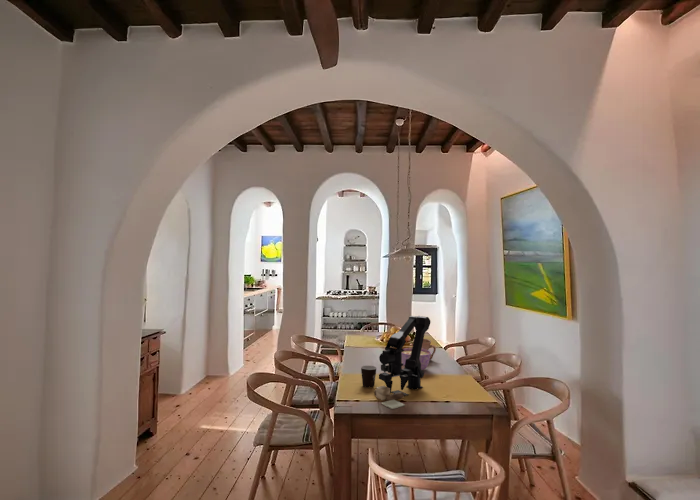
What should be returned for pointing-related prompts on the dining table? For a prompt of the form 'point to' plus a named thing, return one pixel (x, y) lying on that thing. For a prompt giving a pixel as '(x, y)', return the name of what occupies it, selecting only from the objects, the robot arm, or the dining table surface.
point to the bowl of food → (423, 358)
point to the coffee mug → (368, 375)
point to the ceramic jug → (427, 346)
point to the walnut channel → (392, 396)
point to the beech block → (382, 392)
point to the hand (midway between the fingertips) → (395, 391)
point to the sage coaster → (392, 404)
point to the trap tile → (400, 391)
